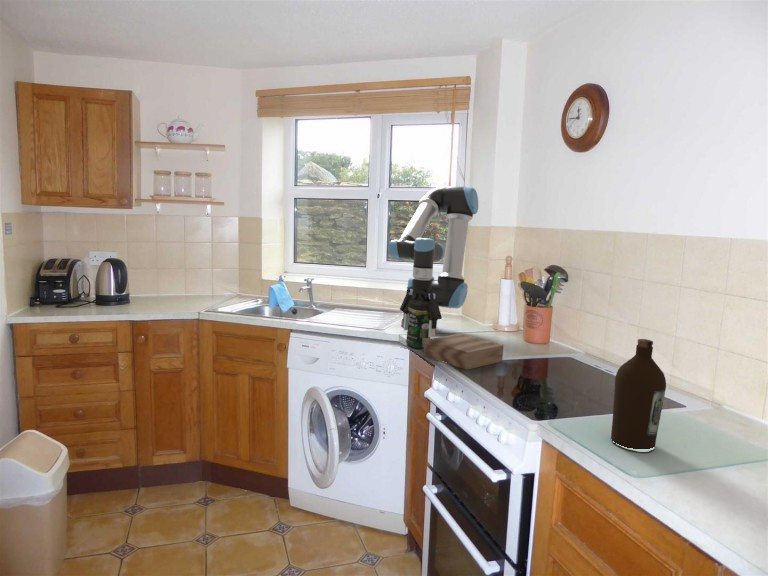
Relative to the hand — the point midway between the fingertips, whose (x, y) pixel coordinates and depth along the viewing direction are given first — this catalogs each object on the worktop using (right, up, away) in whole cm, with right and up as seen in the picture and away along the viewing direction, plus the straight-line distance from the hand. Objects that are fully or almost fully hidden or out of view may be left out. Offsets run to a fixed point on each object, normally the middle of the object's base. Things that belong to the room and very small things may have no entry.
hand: (418, 333), depth 205 cm
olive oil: (+45, -19, -81) cm, 95 cm away
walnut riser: (+15, -8, -13) cm, 22 cm away
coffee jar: (0, -5, +1) cm, 5 cm away
